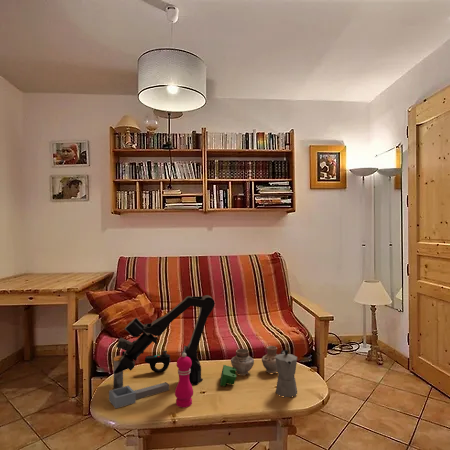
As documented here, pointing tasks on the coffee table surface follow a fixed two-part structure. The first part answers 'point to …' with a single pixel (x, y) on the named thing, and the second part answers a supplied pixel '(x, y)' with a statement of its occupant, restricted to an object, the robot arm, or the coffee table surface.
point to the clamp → (228, 375)
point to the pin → (119, 376)
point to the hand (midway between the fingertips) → (115, 371)
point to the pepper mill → (184, 382)
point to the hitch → (134, 394)
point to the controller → (158, 358)
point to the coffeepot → (286, 374)
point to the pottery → (246, 362)
